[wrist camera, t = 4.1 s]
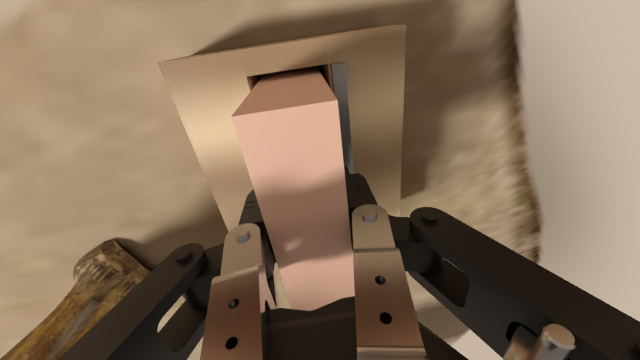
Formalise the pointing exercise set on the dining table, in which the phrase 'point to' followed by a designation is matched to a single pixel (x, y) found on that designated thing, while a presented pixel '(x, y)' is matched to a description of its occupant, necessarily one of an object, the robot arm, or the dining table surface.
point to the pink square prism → (300, 182)
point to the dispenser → (341, 76)
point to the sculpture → (83, 302)
